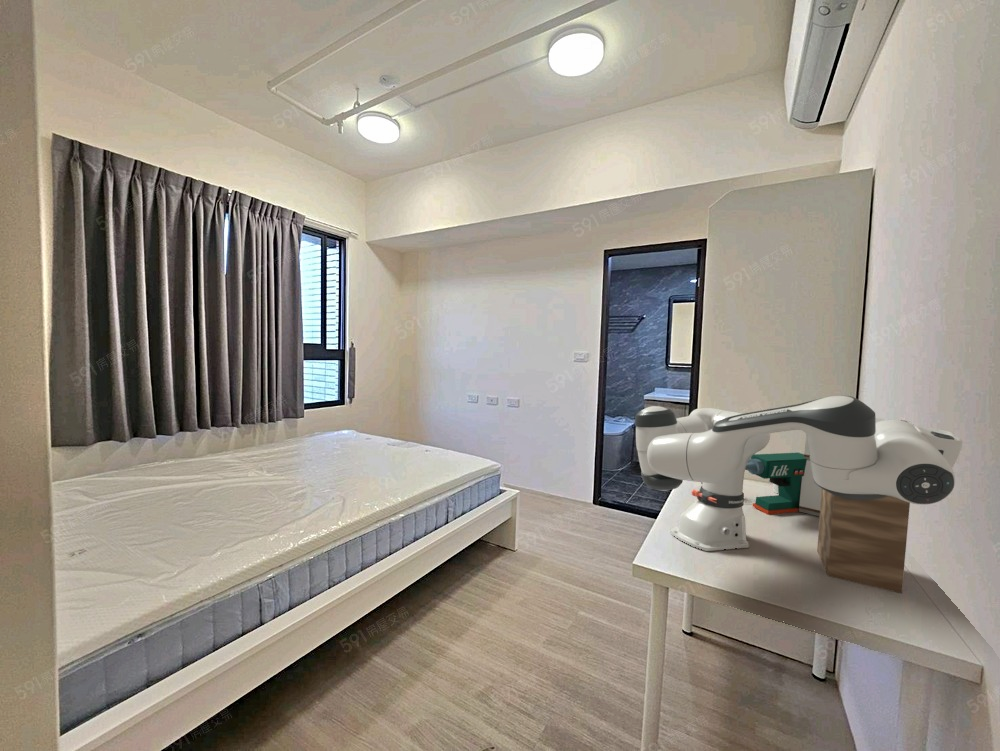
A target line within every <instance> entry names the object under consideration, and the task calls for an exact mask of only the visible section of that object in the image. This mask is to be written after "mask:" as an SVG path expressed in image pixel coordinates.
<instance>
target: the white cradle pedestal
mask: <svg viewBox="0 0 1000 751" xmlns="http://www.w3.org/2000/svg"><path fill="white" fill-rule="evenodd" d="M804 443H805V444H804V453H803V454H804V458H805V459H807V461H806V467H805V472H804V476H802V483H801V493H800V503H799V512H800V513H804V514H807V515H808V514H809V515H813V516H816V517H820V507H821V494H822V488H820V487H819V486H818V485H817V484H816V483H815V482H814V480H813V474H812V469H811V463H810V453H809V447H808V441H807V436H806V435H805V442H804ZM799 512H798V513H799Z"/></svg>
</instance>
